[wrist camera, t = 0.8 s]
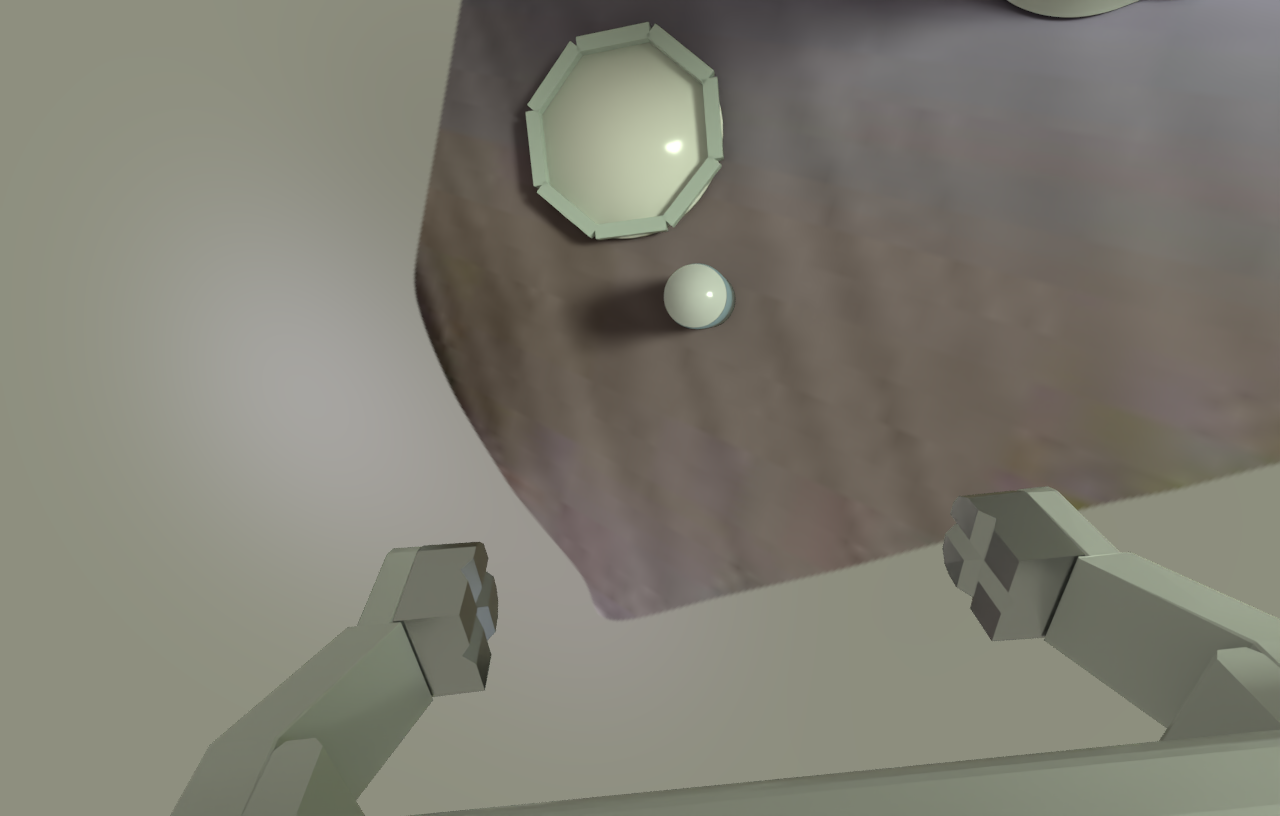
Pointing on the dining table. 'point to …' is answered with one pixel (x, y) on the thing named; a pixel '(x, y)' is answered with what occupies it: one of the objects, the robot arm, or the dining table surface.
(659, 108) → the plate
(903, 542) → the dining table surface
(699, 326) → the ball
